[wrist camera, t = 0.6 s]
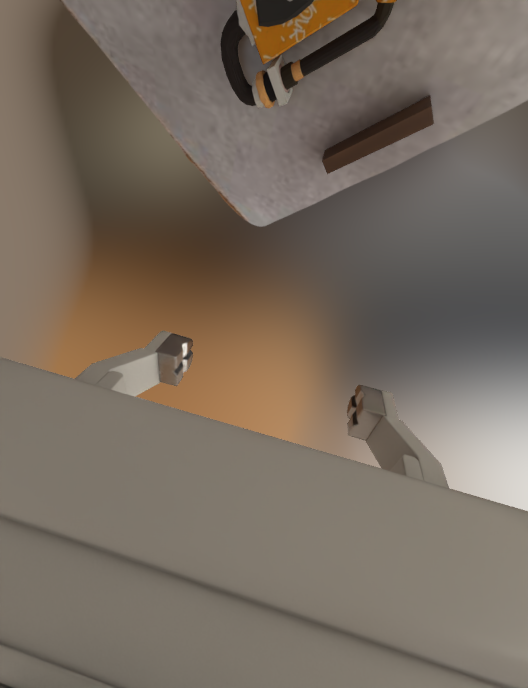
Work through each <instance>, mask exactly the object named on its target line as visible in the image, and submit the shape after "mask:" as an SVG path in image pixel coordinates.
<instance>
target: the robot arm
mask: <svg viewBox="0 0 528 688" xmlns="http://www.w3.org/2000/svg"><path fill="white" fill-rule="evenodd" d="M192 346H193V340H192V339H190V338H187V337H183V336H180V335H177V334H173V333H170V332H166V331H161V332H160V333H159V334H158V335H157V336H156V337H155V338H154V339H153V340H152V341H151V342H150V343H149V344H148V345H147V346H146V347H145V348H144V349H143V348H140V349H137V350H134V351H130V352H127V353H124V354H121V355H118V356H115V357H112V358H109V359H105V360H102V361H99V362H96V363H93V364H91V365H90V366H89V367H88V368H87V369H85V370H84V371H83V372H82V373H81V374H80V375H79V376H78V377H76V378H75V379H73V378H69V377H66V376H63V375H59V374H56V373H52V372H49V371H46V370H42V369H39V368H35V367H32V366H29V365H25V364H22V363H18V362H15V361H12V360H9V359H5V358H2V357H0V688H528V511H525V510H521V509H518V508H514V507H510V506H508V505H504V504H501V503H497V502H494V501H490V500H487V499H483V498H480V497H477V496H473V495H470V494H466V493H463V492H460V491H456V490H453V489H449V487H448V484H447V480H446V477H445V474H444V471H443V468H442V465H441V463H440V462H439V461H438V460H437V459H436V458H435V457H434V456H433V455H432V453H431V452H430V451H429V450H428V449H427V448H426V447H425V446H424V445H423V443H422V442H421V441H420V440H419V439H418V438H417V437H416V436H415V435H414V434H413V432H412V431H411V430H410V429H409V428H408V427H407V426H406V425H405V424H404V422H403V421H401V420H399V419H398V414H397V410H396V406H395V402H394V397H393V394H392V393H391V392H387V391H383V390H377V389H374V388H370V387H367V386H363V385H358V386H357V387H356V389H355V395H354V396H352V397H351V399H350V401H349V404H348V409H347V416H348V418H349V419H350V420H349V422H348V423H347V424H348V435H349V436H352V437H356V438H359V439H362V440H365V441H366V443H367V444H368V446H369V448H370V449H371V451H372V453H373V454H374V456H375V458H376V460H377V461H378V463H379V465H380V466H381V468H382V469H381V468H378V467H374V466H370V465H367V464H364V463H360V462H357V461H354V460H350V459H346V458H343V457H340V456H336V455H333V454H329V453H326V452H323V451H319V450H315V449H312V448H308V447H305V446H302V445H299V444H295V443H292V442H289V441H285V440H282V439H278V438H275V437H272V436H268V435H265V434H261V433H258V432H254V431H251V430H248V429H244V428H240V427H237V426H234V425H230V424H227V423H223V422H220V421H217V420H213V419H210V418H206V417H203V416H199V415H196V414H192V413H189V412H185V411H182V410H179V409H175V408H172V407H169V406H165V405H162V404H158V403H155V402H152V401H148V400H145V399H141V398H138V397H135V396H136V395H138V394H140V393H142V392H143V391H146V390H147V389H149V388H151V387H153V386H155V385H157V384H158V383H160V382H163V383H167V384H171V385H174V386H177V385H178V384H179V382H180V381H181V379H182V378H183V372H186V371H187V370H188V369H189V367H190V365H191V362H192V357H193V353H192V351H191V350H190V349H191V347H192Z"/></svg>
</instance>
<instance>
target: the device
mask: <svg viewBox="0 0 528 688" xmlns="http://www.w3.org/2000/svg"><path fill="white" fill-rule="evenodd" d="M358 1H359V0H236V3H237V6H236V7H237V10H236V11H234V13H233V14H232V15H231V17H230V18H229V19H228V21H227V23H226V25H225V27H224V29H223V32H222V37H221V54H222V61H223V64H224V68H225V71H226V74H227V77H228V79H229V82H230V84H231V86H232V89H233V90H234V92H235V93H236V95H237V96H238V98H239V99H240V101H242V102H243V103H245V104H246V105H251V106H254V105H257V107H258V108H262V107H264V106H265V107H266V108H271V107H272V106H273V105H274V102H275V100H277V101H278V103H279V106H282V105H284V104H286V103H288V100H289V98H290V96H291V94H292V91H293V89H292V87H293V86H295V85H297V83H298V80H300V79H301V78H303V77H304V76H306V75H308V74H309V73H311V72H313V71H315V70H316V69H318V68H320V67H322V66H324V65H325V64H327V63H329V62H331V61H332V60H334V59H336V58H338V57H339V56H341V55H343V54H345V53H347V52H348V51H350V50H352V49H354V48H355V47H357V46H359V45H361V44H362V43H364V42H366V41H368V40H370V39H371V38H373V37H374V36H375V35H376V34H377V33H378V32H379V31H380V30H381V29H382V27H383V26H384V24H385V23H386V21H387V19H388V17H389V15H390V13H391V10H392V8H393V5H394V2H396V1H397V0H376V1H377V2H378V4H377V9H376V13H375V14H374V15H373V16H372V17H371V18H369V19H368V20H366V21H365V22H363V23H361V24H360V25H358V26H356V27H355V28H353V29H351V30H350V31H348V32H346V33H345V34H343V35H341V36H340V37H338V38H336V39H335V40H333V41H331V42H330V43H328V44H326V45H325V46H323V47H321V48H320V49H318V50H316V51H315V52H313V53H311V54H310V55H308V56H306V57H305V58H303V59H302V60H298V61H297V62H295V63H293V62H290V63H288V64H286V65H285V64H284V61H283V58H282V55H280V54H281V53H283V52H284V51H286V50H288V49H289V48H291V47H292V46H294V45H295V44H297V43H298V42H300V41H302V40H303V39H305V38H306V37H308V36H309V35H311V34H313V33H314V32H316V31H317V30H319V29H321V28H322V27H324V26H325V25H327V24H329V23H330V22H332V21H333V20H335V19H337V18H338V17H340V16H341V15H343V14H344V13H346V12H347V11H349V10H351V9H352V8H354V7H355V6H357V4H358ZM245 34H246V35H247V36H248V37H249V39H250V42H251V44H252V46H253V45H254V44H256V46H257V49H258V52H259V55H260V57H261V60H262V63H263V64H265V63H267V62H268V61H270V60H272V59H273V58H275V57H276V58H275V59H274V60H273V61H272V63H271V64H270V66H269V67H268V69H267V72H265V71H264V70H262V71H260V72H258V73H257V75H256V79H255V80H254V81H252V86H250V85H249V84H248V82H247V80H246V79H245V77H244V74H243V71H242V68H241V65H240V62H239V58H238V43H239V41H240V39H241V38H242V37H243V36H244V35H245ZM278 55H279V56H278ZM277 56H278V57H277Z"/></svg>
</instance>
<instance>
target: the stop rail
mask: <svg viewBox="0 0 528 688" xmlns="http://www.w3.org/2000/svg"><path fill="white" fill-rule="evenodd" d="M433 124H434V122H433V114H432V105H431V97H430V96H428V97H426V98H424V99H422V100H420V101H418V102H416V103H415V104H413V105H411V106H409V107H407V108H405V109H403V110H401V111H399V112H397V113H395V114H393V115H392V116H390V117H388V118H386V119H384V120H382V121H380V122H378V123H376V124H374V125H372V126H371V127H369V128H367V129H365V130H363V131H361V132H359V133H357V134H355V135H353V136H351V137H350V138H348V139H346V140H344V141H342V142H340V143H338V144H336V145H334V146H332V147H330V148H329V149H327V150H325V152H324V156H323V159H322V162H323V164H324V167H325V169H326V172H327V174H328V173H330V172H333V171H335V170H337V169H339V168H341V167H343V166H345V165H347V164H350V163H352V162H354V161H356V160H358V159H360V158H362V157H364V156H367V155H369V154H371V153H373V152H375V151H377V150H379V149H381V148H384V147H386V146H388V145H390V144H392V143H394V142H396V141H399V140H401V139H403V138H405V137H407V136H409V135H411V134H413V133H416V132H418V131H420V130H422V129H424V128H426V127H428V126H430V125H433Z"/></svg>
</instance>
